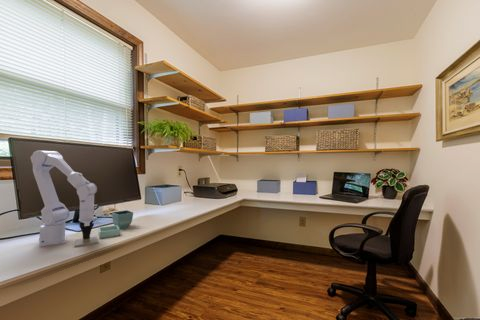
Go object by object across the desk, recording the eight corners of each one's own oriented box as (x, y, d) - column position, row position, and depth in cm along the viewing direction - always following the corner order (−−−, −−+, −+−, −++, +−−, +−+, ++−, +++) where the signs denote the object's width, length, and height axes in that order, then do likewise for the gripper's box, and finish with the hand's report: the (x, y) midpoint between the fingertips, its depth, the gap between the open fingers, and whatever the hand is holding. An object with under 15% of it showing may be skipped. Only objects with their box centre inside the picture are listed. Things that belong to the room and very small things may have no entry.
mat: (72, 248, 101) (72, 247, 101) (73, 241, 109) (73, 241, 109) (99, 244, 106) (99, 243, 106) (97, 237, 114) (97, 237, 114)
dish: (99, 239, 113) (99, 232, 113) (98, 234, 120) (98, 227, 120) (119, 236, 118) (119, 229, 118) (117, 231, 125) (117, 225, 125)
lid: (74, 247, 101) (74, 234, 101) (74, 241, 109) (74, 229, 109) (97, 243, 106) (98, 231, 106) (96, 237, 114) (97, 226, 114)
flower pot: (126, 224, 139) (127, 209, 139) (133, 227, 133) (133, 212, 133) (111, 227, 132) (111, 212, 132) (117, 230, 126) (118, 214, 126)
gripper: (97, 211, 104) (97, 240, 104) (95, 205, 116) (95, 231, 116) (78, 212, 100) (78, 243, 100) (79, 206, 112) (78, 234, 112)
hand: (86, 237), depth 108 cm, fingers open, 4 cm apart
